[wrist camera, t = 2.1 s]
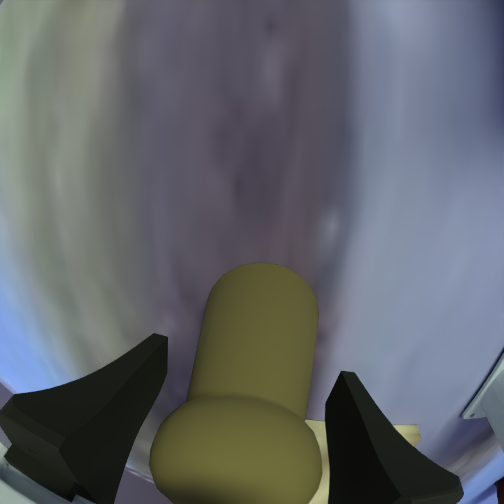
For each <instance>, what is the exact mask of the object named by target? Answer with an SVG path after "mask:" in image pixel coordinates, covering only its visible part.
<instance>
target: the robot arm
mask: <svg viewBox="0 0 504 504" xmlns="http://www.w3.org/2000/svg"><path fill="white" fill-rule="evenodd" d="M167 359H168V337H166V336H163V335H159V334H156V333H154V334H152V335H151V336H149V337H148V338H146V339H145V340H144V341H142V342H141V343H140V344H138V345H137V346H135V347H134V348H133V349H131V350H130V351H128V352H127V353H125V354H124V355H122V356H121V357H119V358H118V359H116V360H115V361H113V362H111V363H110V364H108V365H106V366H104V367H103V368H101V369H99V370H97V371H95V372H93V373H91V374H89V375H87V376H85V377H83V378H80V379H77V380H75V381H72V382H69V383H66V384H63V385H60V386H57V387H53V388H49V389H45V390H40V391H35V392H28V393H20V394H14V395H13V396H12V397H11V398H10V400H9V401H8V402H7V403H6V404H5V405H4V407H3V408H2V409H1V410H0V426H1V428H2V429H3V431H4V433H5V434H6V436H7V437H8V439H9V440H10V441H11V443H12V445H11V447H10V448H8V447H7V446H6V445H5V444H3V443H2V442H1V441H0V504H114V501H115V498H116V494H117V490H118V487H119V483H120V480H121V477H122V474H123V471H124V468H125V465H126V462H127V459H128V457H129V454H130V451H131V449H132V446H133V443H134V441H135V438H136V436H137V434H138V432H139V430H140V428H141V426H142V424H143V422H144V420H145V418H146V417H147V415H148V413H149V411H150V409H151V407H152V406H153V404H154V402H155V400H156V398H157V396H158V394H159V392H160V390H161V388H162V385H163V383H164V380H165V377H166V374H167ZM462 417H463V419H474V418H483V417H487V419H488V421H489V423H490V425H491V427H492V429H493V431H494V433H495V435H496V437H497V439H498V442H499V444H500V446H501V448H502V450H503V452H504V353H503V355H502V356H501V358H500V360H499V361H498V363H497V365H496V366H495V368H494V370H493V371H492V373H491V374H490V376H489V377H488V379H487V380H486V382H485V383H484V385H483V386H482V388H481V389H480V391H479V392H478V394H477V395H476V396H475V398H474V399H473V401H472V402H471V403H470V405H469V406H468V407H467V409H466V410H465V411H464V413H463V414H462ZM325 429H326V439H327V448H328V458H329V474H330V475H329V495H328V504H456V503H458V502H459V501H460V500H461V499H462V497H463V495H464V492H463V488H462V485H461V482H460V479H459V477H458V476H457V475H455V474H453V473H451V472H449V471H447V470H446V469H444V468H442V467H440V466H439V465H437V464H436V463H434V462H433V461H431V460H430V459H428V458H427V457H426V456H424V455H423V454H422V453H421V452H419V451H418V450H417V449H416V448H415V447H414V446H412V445H411V444H410V443H409V442H408V441H407V440H406V439H405V438H404V437H403V436H402V435H401V434H400V433H399V432H398V431H397V430H396V429H395V427H394V426H393V425H392V424H391V423H390V422H389V420H388V419H387V418H386V417H385V415H384V414H383V413H382V411H381V410H380V409H379V407H378V406H377V405H376V403H375V402H374V400H373V399H372V398H371V396H370V395H369V393H368V392H367V390H366V389H365V387H364V386H363V384H362V383H361V381H360V380H359V378H358V377H357V375H356V374H355V372H347V371H341V372H340V374H339V376H338V378H337V380H336V383H335V385H334V387H333V389H332V391H331V393H330V395H329V397H328V399H327V401H326V404H325Z"/></svg>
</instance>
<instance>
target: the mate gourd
mask: <svg viewBox="0 0 504 504" xmlns="http://www.w3.org/2000/svg"><path fill="white" fill-rule="evenodd" d="M494 484H495V485H497V498H498V504H504V477H503V478H502V479H500V480H498V481H496V482H495V483H494Z"/></svg>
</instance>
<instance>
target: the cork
mask: <svg viewBox="0 0 504 504" xmlns="http://www.w3.org/2000/svg"><path fill="white" fill-rule="evenodd" d="M318 318H319V310H318V304H317V299H316V296H315V295H314V293H313V291H312V289H311V288H310V286H309V284H308V283H307V282H306V281H304V280H303V279H302V278H301V277H300V276H299V275H297V274H296V273H295V272H293V271H291V270H289V269H286V268H284V267H282V266H279V265H277V264H267V263H253V264H247V265H242V266H238V267H237V268H235V269H233V270H231V271H229V272H227V273H226V274H224V275H223V276H222V277H221V278H220V279H219V280H218V282H217V283H216V284H215V285H214V286H213V288H212V290H211V293H210V296H209V298H208V301H207V305H206V310H205V314H204V319H203V323H202V328H201V333H200V337H199V342H198V347H197V352H196V356H195V361H194V366H193V371H192V376H191V381H190V386H189V391H188V396H187V401H186V403H183V404H182V405H181V406H179V407H178V408H177V409H175V410H174V411H173V412H171V413H170V415H169V416H168V417H167V418H166V419H165V420H164V421H163V422H162V424H161V425H160V427H159V429H158V432H157V434H156V436H155V438H154V441H153V444H152V447H151V450H150V460H149V466H150V470H151V473H152V476H153V480H154V482H155V484H156V487H157V489H158V490H159V491H160V492H161V493H163V494H164V495H165V496H166V497H167V498H168V499H169V500H170V501H171V502H172V503H174V504H309V502H310V501H311V500H312V498H313V497H314V495H315V494H316V492H317V490H318V489H319V485H320V482H321V478H322V474H323V473H322V458H321V452H320V447H319V444H318V441H317V439H316V436H315V434H314V431H313V430H312V429H311V428H310V427H309V426H308V425H307V423H306V422H305V418H306V412H307V406H308V399H309V392H310V385H311V378H312V370H313V363H314V354H315V346H316V337H317V328H318Z"/></svg>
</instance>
